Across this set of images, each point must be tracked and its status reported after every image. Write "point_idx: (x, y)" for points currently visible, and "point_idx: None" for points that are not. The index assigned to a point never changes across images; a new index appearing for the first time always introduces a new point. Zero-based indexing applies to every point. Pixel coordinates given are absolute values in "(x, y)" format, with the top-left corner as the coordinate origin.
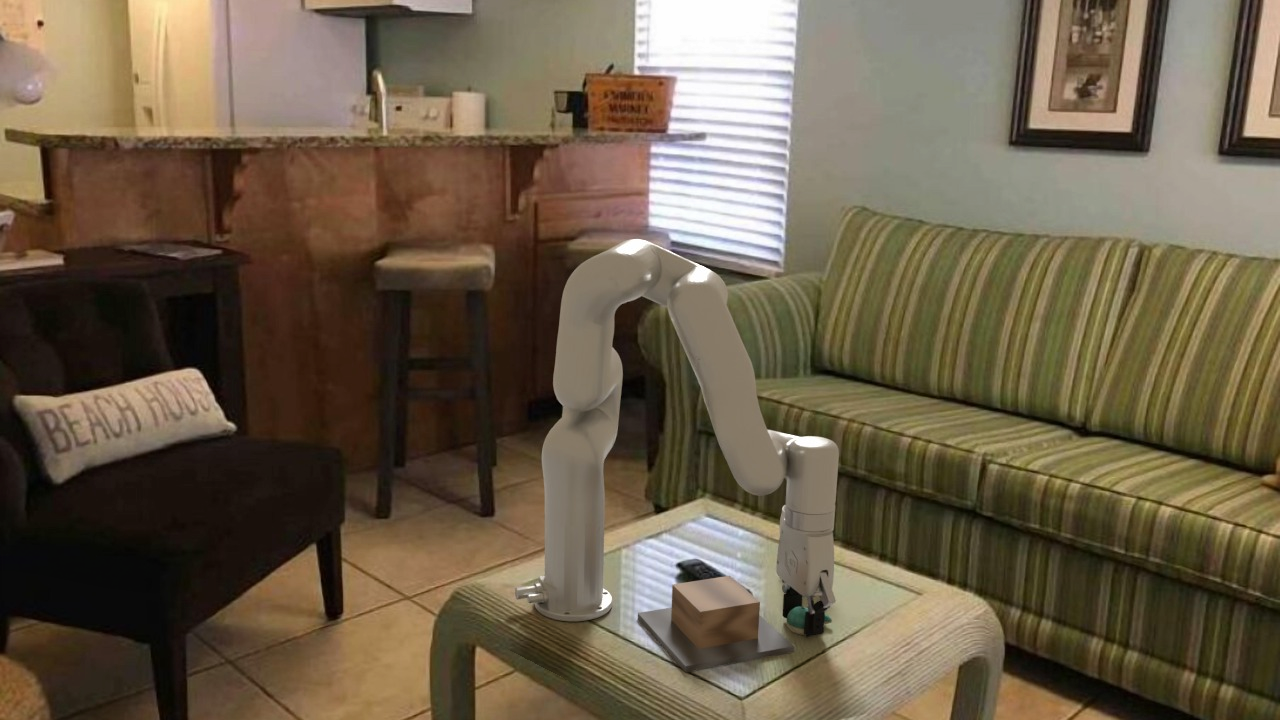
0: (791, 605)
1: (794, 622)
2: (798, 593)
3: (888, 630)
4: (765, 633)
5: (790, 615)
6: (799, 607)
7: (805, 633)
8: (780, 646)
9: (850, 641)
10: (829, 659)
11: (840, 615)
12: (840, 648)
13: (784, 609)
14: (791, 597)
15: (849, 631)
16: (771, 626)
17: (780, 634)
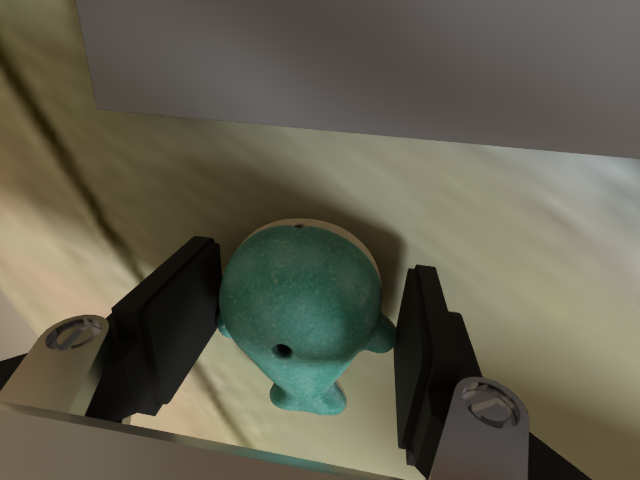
0: (407, 338)
1: (260, 243)
2: (413, 439)
3: None
4: (279, 26)
5: (304, 259)
6: (298, 341)
7: (191, 239)
8: (101, 22)
9: None
10: (45, 215)
11: (351, 449)
12: None
13: (421, 289)
14: (414, 379)
15: (234, 401)
16: (346, 125)
17: (236, 116)
